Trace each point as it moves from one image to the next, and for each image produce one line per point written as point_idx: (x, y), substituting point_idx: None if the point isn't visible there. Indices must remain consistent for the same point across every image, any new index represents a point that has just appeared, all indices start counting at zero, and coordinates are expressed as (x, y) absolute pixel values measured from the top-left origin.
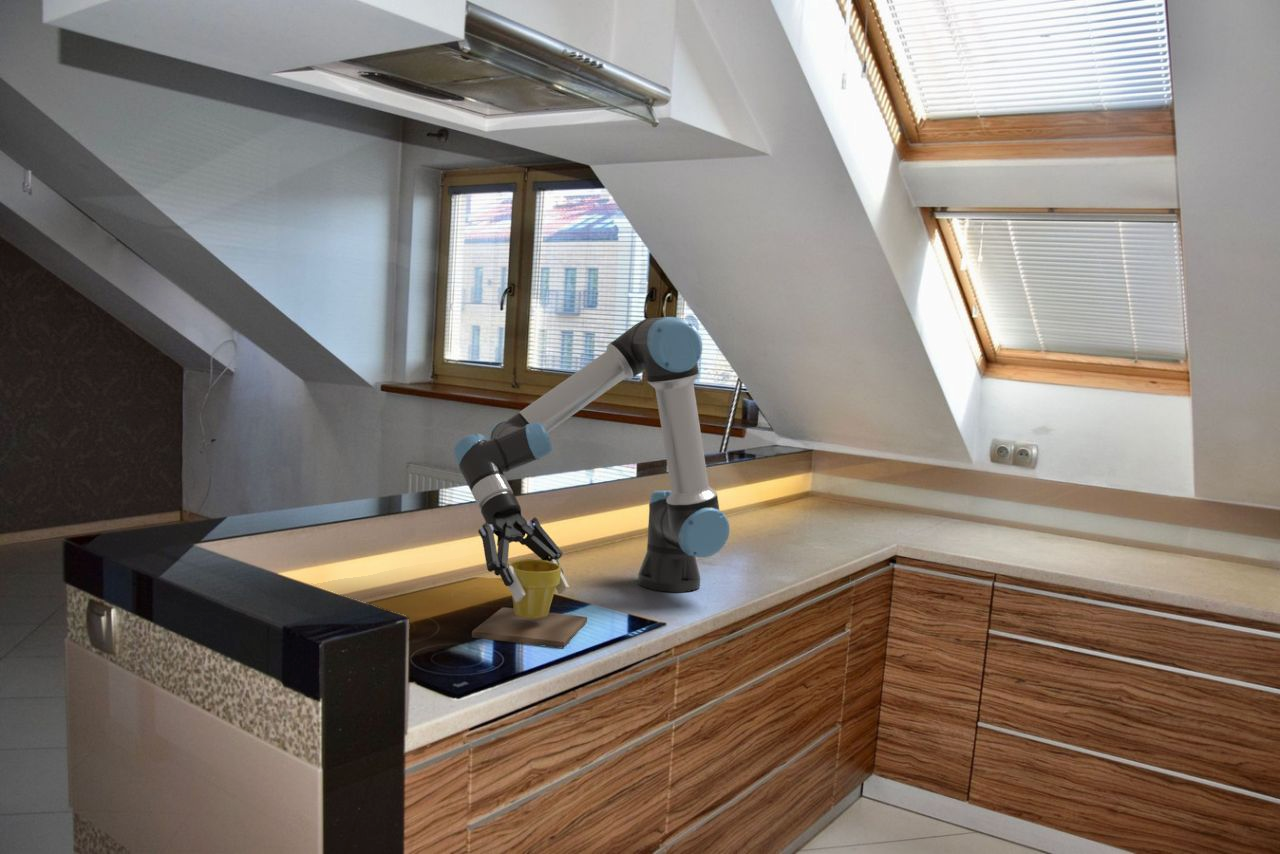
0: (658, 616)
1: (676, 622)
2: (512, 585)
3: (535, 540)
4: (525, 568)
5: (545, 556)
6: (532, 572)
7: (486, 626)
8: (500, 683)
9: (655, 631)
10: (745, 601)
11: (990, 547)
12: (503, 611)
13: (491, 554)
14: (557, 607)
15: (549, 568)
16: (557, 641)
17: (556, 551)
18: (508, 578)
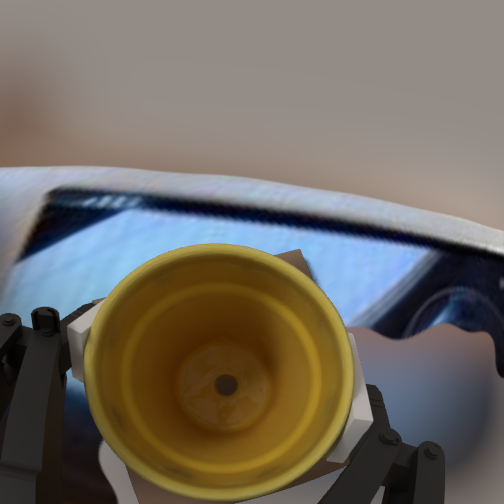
0: (17, 217)
1: (41, 182)
2: None
3: (32, 439)
4: (154, 455)
5: (60, 381)
6: (331, 303)
7: (325, 456)
8: (475, 247)
9: (98, 182)
10: None
11: None
12: (176, 500)
13: (442, 492)
14: None
15: (110, 348)
16: (305, 262)
17: (11, 335)
18: (376, 397)
